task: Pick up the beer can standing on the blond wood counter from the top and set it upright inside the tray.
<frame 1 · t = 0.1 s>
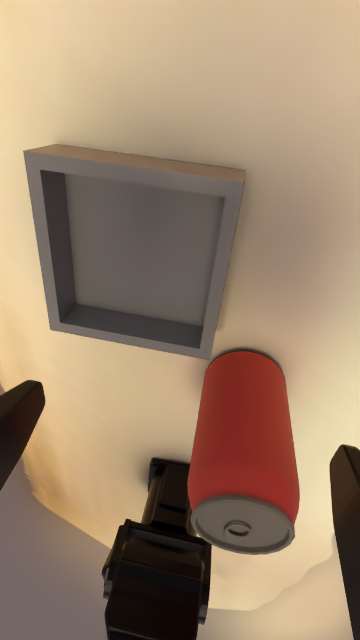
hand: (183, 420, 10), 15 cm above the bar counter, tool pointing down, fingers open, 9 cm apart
beer can: (243, 376, 28), on the bar counter
tray: (144, 248, 23), on the bar counter
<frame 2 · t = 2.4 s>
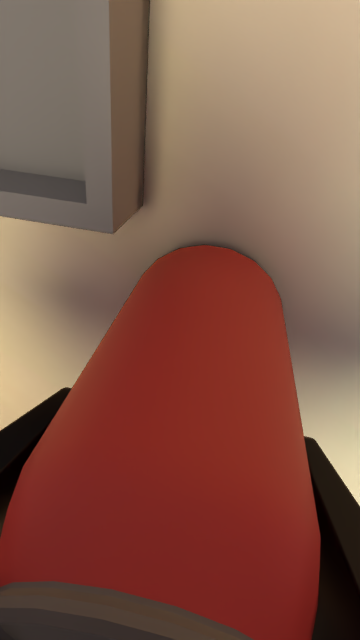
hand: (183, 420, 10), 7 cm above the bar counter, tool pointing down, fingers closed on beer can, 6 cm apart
beer can: (207, 306, 15), on the bar counter, touching gripper
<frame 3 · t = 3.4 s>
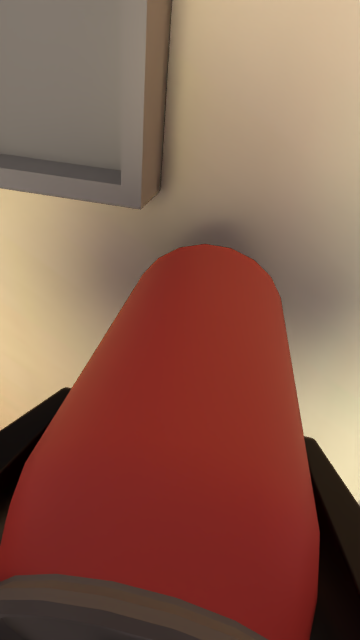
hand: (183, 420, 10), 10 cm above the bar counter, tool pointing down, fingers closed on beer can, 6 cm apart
beer can: (207, 305, 15), point 3 cm above the bar counter, touching gripper
tray: (28, 19, 13), on the bar counter
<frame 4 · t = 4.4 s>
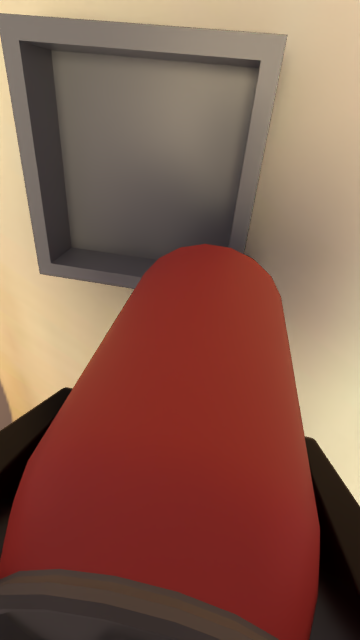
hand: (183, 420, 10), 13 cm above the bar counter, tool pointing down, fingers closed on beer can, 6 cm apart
beer can: (208, 305, 15), point 6 cm above the bar counter, touching gripper
tray: (152, 171, 19), on the bar counter
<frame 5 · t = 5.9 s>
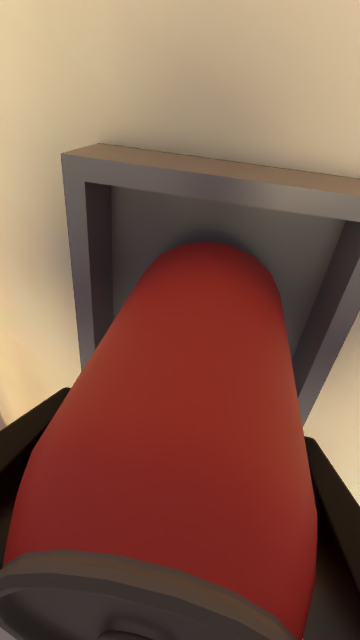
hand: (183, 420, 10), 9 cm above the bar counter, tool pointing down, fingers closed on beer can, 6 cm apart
beer can: (208, 302, 16), point 2 cm above the bar counter, touching gripper
tray: (211, 284, 17), on the bar counter
when the fingers open (9 cm above the bar counter, at t = 6.8 s): beer can stays where it is, resting on tray.
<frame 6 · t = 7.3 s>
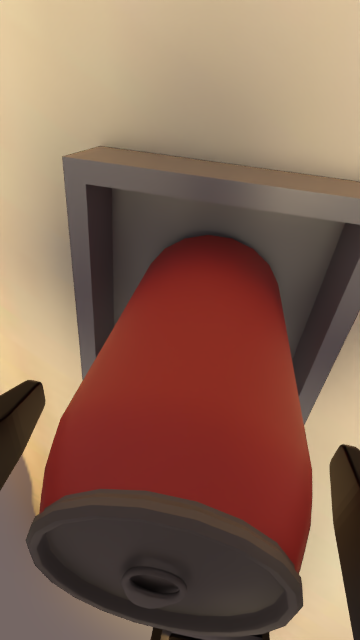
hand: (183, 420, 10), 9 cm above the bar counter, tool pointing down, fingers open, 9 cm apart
beer can: (210, 293, 17), point 1 cm above the bar counter, touching tray
tray: (211, 285, 17), on the bar counter
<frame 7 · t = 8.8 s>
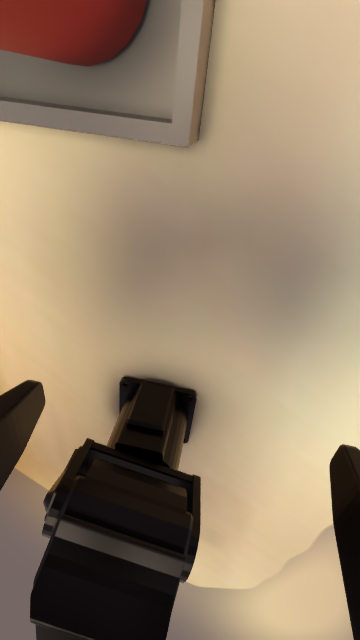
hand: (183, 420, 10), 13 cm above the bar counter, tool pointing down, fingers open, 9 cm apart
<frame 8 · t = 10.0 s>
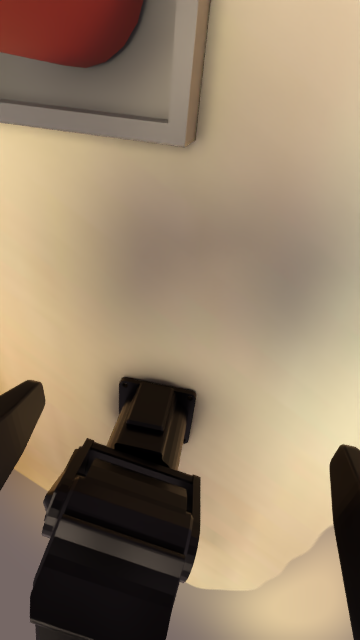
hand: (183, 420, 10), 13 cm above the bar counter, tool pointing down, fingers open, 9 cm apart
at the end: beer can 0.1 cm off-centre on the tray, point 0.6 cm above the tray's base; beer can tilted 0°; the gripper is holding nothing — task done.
